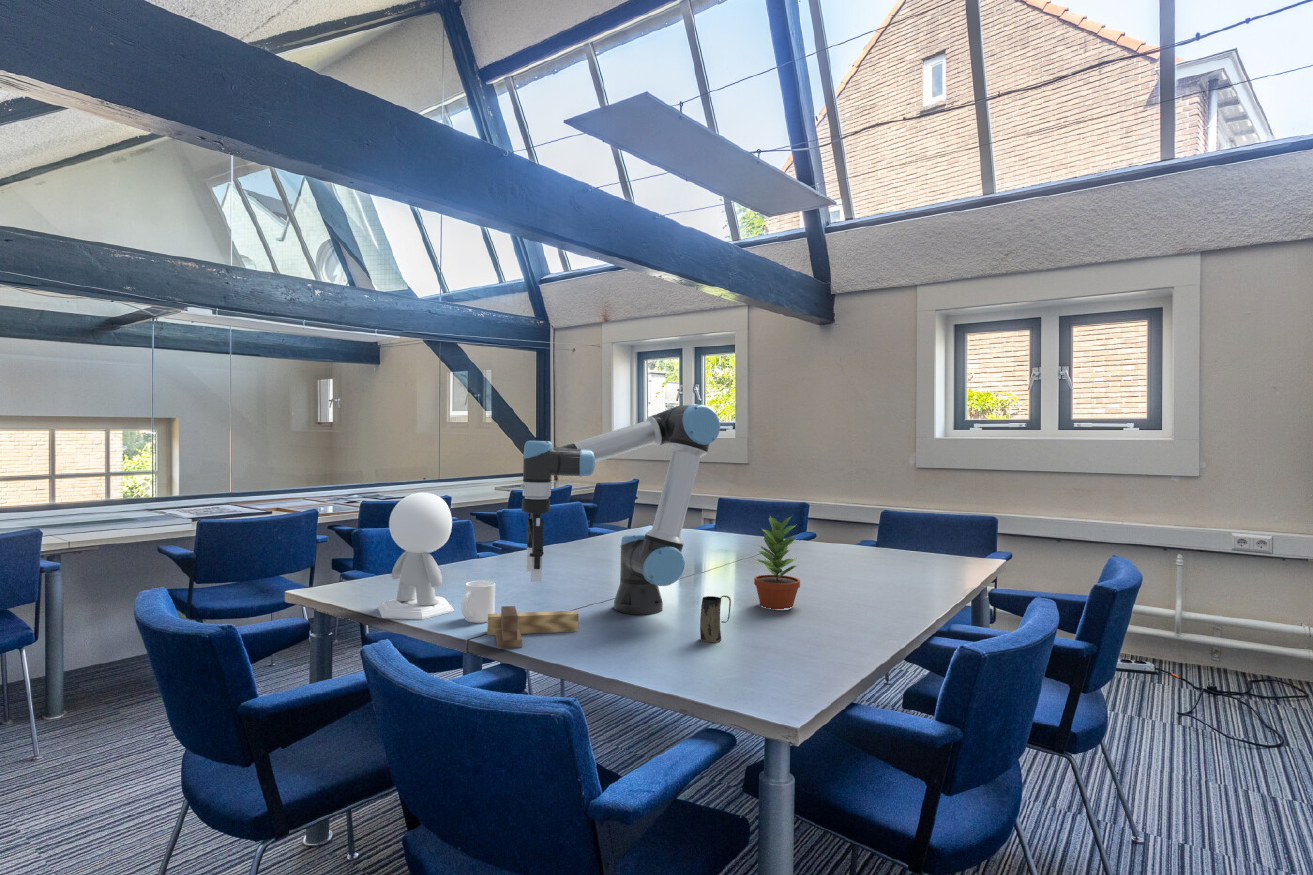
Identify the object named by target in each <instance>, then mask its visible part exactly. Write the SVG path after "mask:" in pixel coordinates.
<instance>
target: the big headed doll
mask: <svg viewBox="0 0 1313 875" xmlns="http://www.w3.org/2000/svg"><path fill="white" fill-rule="evenodd" d="M452 518H453V517H452V513H451V509H450V507H449V505H448V504H447V502H446V500H445V499H443V498H442V497H441V496H439V495H437V494H435V493H430V492H415V493H412V494H409V495H407V496H405V497H404V498H402V499H401V500H399V502H398V503H396V504H395V506H394V507H393V509H392V510H391V513H390V516H389V520H388V528H389V533H390V535H391V538H392V540H393V542H394V543H396V545H397V546H398V547H399V548H401V549H402V550H404V552H402V554H401V555H399V557H398V558H397V560H396V562H395V563H394V565H393V567H392V571H391V577H392V580H399V583H398V588H397V595H396V596H397V597H396V598H393V599H390V600H386V601H384V602H383V601H382V602H380V604H379V605H378V606H377V609H378V612H379V614H380V616H381V618H382V619H390V620H393V619H397V620H423V621H424V620H427V619H430V618H434V617H438V616H442V615H447V614H450V613H453V612H454V611H455V609H454V607H453V606H452V605H451V604H450V603H449V601H448V600H447V599H446V598H445V597H443V596H442V597H441V596H439V595H438V596H436V590H435V588H440V587H442V586H443V585H442V584H443V576H442V572H441V570H440V567H439V565H438V564H437V561H436V560H435V559H434V557H433V556H432V554H430V553H432V552H433V553H434V552H435V551H437V550H439V549H441V548H442V547H444V545H445V544H447V542H448V541H449V539H450V535H451V533H452V527H453V519H452Z"/></svg>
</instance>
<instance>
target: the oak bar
mask: <svg viewBox="0 0 1313 875" xmlns="http://www.w3.org/2000/svg"><path fill="white" fill-rule="evenodd" d="M517 615H518V623H517V629H520V633H521V635H522V634H545V633H561V632H562V633H565V632H568V633H570V632H578V631H579V612H578V611H577V610H559V611H535V612H534V611H531V612H530V611H529V612H517ZM498 629H501V612H499V613H498V612H497V613H494V614H488V622H487V636H496V630H498Z"/></svg>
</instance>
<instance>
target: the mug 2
mask: <svg viewBox="0 0 1313 875" xmlns="http://www.w3.org/2000/svg"><path fill="white" fill-rule="evenodd" d="M723 598H727V599H728V601H729V604H728V606H729V607H728V615H727V616H728V617H727V620H725V621H724V620H723V621H722V620H721V605H722V599H723ZM700 606H701V608H700V615H699V616H700V621H699V622H700V623H699V634H700V639H701V640H702V641H701V640H700V641H701V642H703V641H704V642H703V643H706V642H708V643H707V644H717V643H716V642H718V643H721V642H722V636H721V635H722V633H721V623H724V624H726V623H728V622H729V619H730V616H731V606H732V600H731V597H730V596H729V595H722V596H720V597H719V596H711V595H710V596H708V595H707V596H703V597H702V599H701V605H700ZM720 641H721V642H720Z"/></svg>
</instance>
